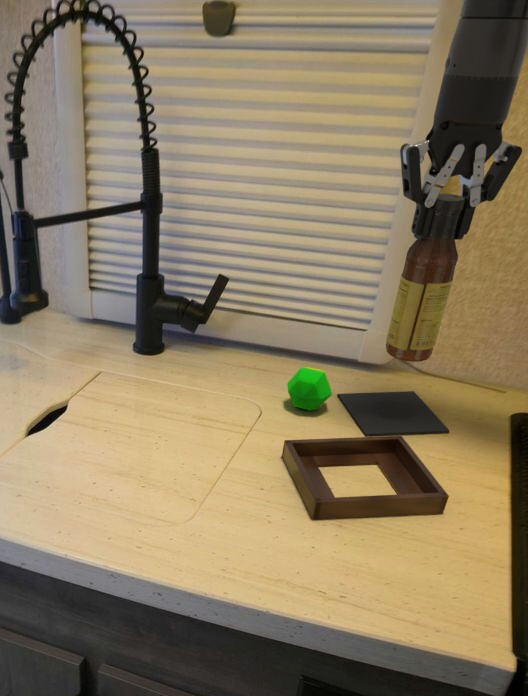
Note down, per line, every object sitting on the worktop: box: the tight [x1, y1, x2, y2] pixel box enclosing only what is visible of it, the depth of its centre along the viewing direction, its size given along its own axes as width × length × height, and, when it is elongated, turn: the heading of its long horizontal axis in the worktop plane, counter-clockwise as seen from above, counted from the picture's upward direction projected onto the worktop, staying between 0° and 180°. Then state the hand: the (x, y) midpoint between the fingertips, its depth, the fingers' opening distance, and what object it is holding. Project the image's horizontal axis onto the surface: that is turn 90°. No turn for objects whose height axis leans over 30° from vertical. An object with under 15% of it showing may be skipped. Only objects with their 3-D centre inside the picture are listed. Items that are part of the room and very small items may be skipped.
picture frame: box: [281, 435, 450, 521], centre depth 81 cm, size 16×14×2 cm
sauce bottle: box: [385, 193, 465, 363], centre depth 85 cm, size 7×6×20 cm
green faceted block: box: [286, 366, 333, 411], centre depth 97 cm, size 7×6×9 cm
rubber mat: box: [336, 390, 451, 437], centre depth 96 cm, size 12×12×1 cm
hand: (438, 237), depth 81 cm, fingers closed on sauce bottle, 4 cm apart
